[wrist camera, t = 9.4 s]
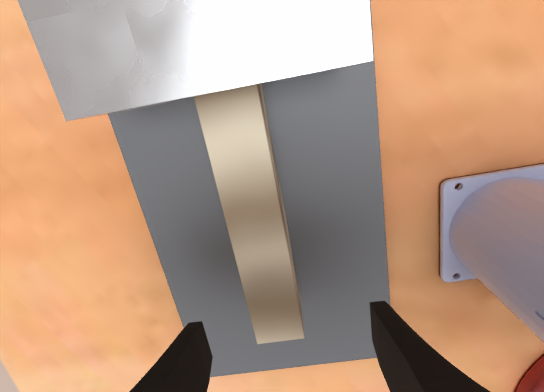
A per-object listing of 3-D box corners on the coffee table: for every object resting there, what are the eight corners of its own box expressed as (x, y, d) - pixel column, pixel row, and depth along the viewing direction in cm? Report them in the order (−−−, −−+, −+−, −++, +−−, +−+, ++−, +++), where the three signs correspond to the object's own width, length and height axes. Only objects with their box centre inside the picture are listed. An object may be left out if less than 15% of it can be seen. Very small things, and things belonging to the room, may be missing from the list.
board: (361, -58, 16) (366, -67, 15) (389, 345, 25) (393, 355, 24) (80, 7, 17) (68, 3, 16) (204, 367, 27) (201, 378, 26)
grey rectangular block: (328, -34, 16) (361, -114, 9) (338, 69, 17) (373, 60, 11) (109, 15, 17) (6, -27, 10) (139, 108, 18) (66, 121, 12)
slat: (198, 40, 17) (176, 27, 13) (251, 29, 17) (243, 13, 13) (261, 301, 23) (257, 344, 19) (300, 296, 23) (304, 338, 19)
